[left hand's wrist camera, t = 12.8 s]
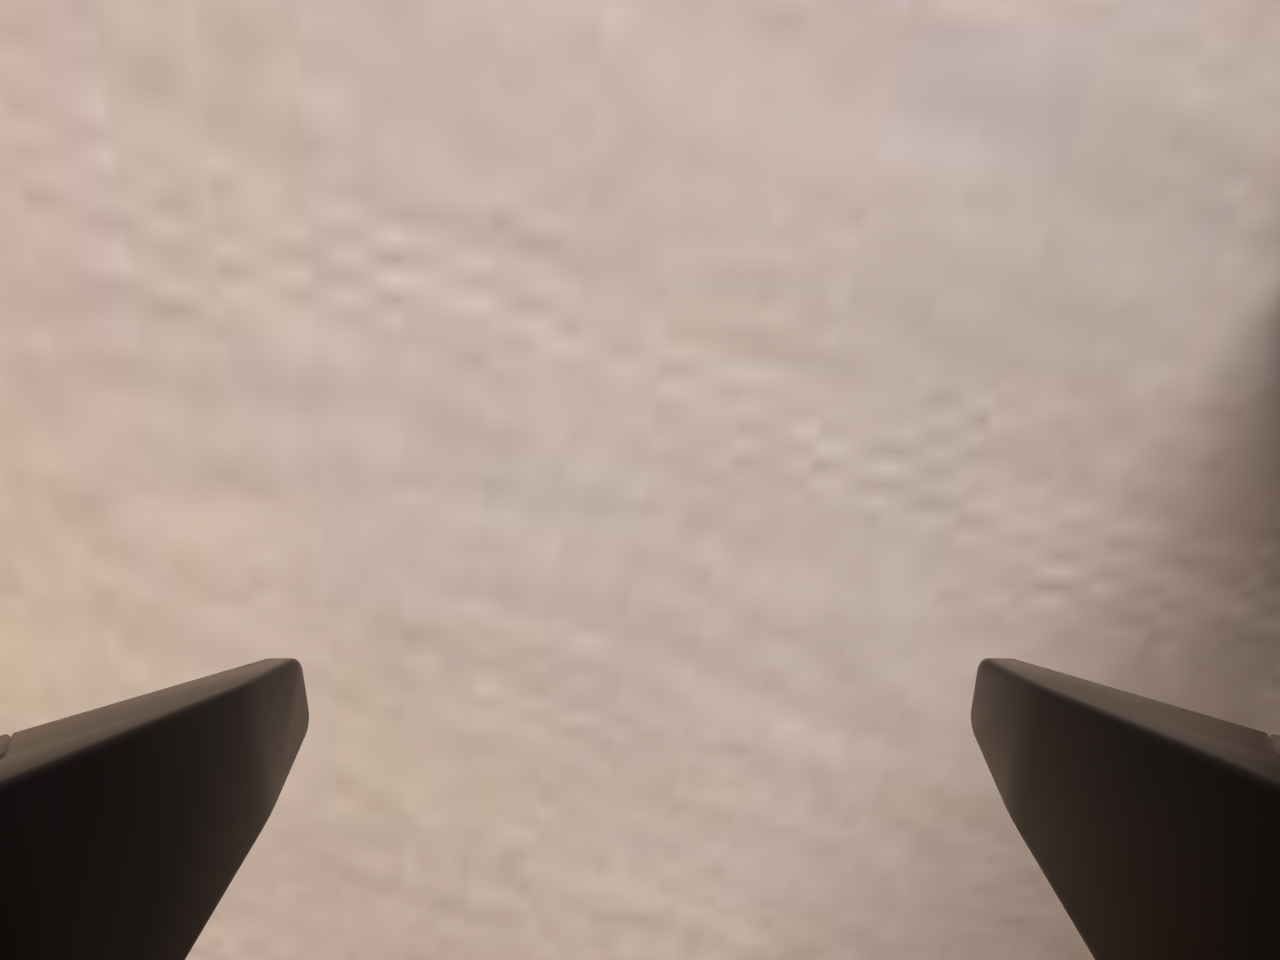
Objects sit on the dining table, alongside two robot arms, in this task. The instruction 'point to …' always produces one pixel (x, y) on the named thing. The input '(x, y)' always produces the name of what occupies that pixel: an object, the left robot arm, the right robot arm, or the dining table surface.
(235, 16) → the dining table surface
